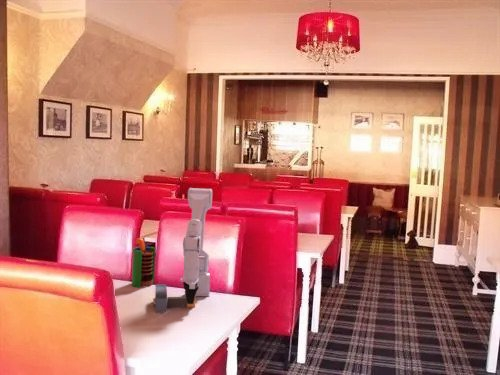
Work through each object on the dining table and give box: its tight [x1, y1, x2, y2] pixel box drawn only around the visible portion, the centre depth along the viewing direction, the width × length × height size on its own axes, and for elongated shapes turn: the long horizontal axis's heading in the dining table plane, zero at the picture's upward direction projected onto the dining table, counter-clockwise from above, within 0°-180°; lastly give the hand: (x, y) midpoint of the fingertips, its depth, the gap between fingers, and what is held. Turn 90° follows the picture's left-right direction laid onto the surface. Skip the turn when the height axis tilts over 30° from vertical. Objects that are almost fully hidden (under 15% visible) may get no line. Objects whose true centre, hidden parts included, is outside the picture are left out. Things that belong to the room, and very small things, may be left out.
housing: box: [154, 283, 168, 313], centre depth 183 cm, size 4×14×6 cm, turn 11°
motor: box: [131, 237, 156, 288], centre depth 210 cm, size 10×9×20 cm
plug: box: [152, 293, 196, 308], centre depth 184 cm, size 16×4×4 cm, turn 102°
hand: (189, 302), depth 185 cm, fingers closed on plug, 3 cm apart
